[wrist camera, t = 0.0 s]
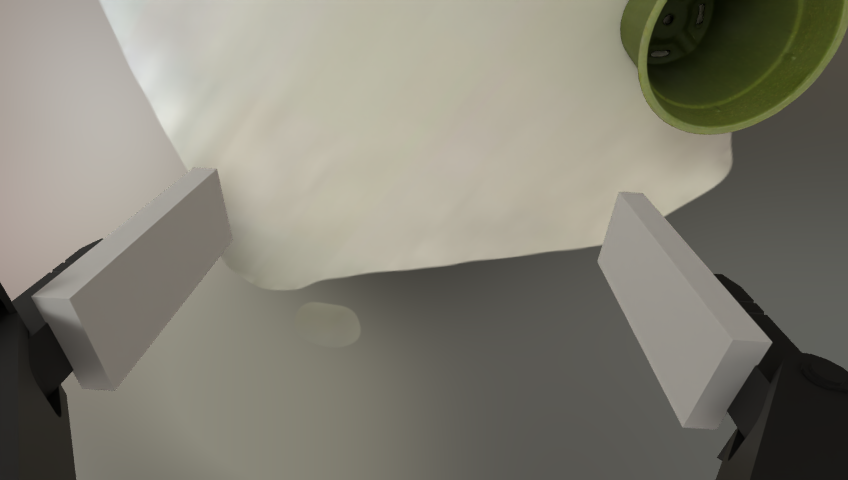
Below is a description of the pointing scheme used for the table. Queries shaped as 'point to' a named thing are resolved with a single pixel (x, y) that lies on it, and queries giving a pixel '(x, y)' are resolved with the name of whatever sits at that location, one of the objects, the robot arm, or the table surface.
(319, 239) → the table surface
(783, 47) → the plant pot
